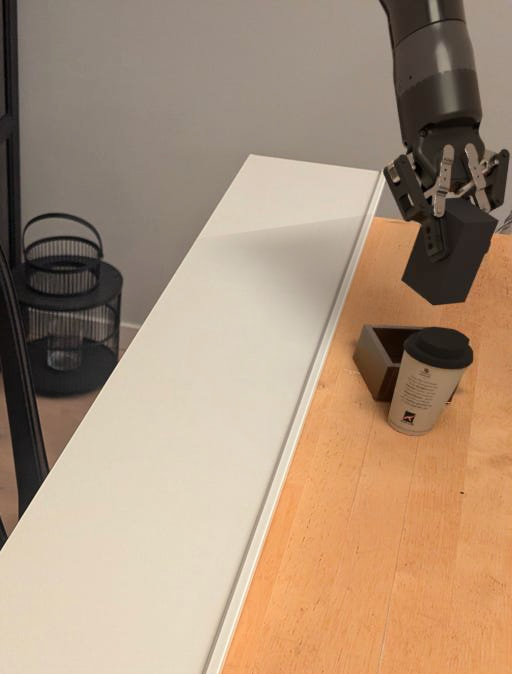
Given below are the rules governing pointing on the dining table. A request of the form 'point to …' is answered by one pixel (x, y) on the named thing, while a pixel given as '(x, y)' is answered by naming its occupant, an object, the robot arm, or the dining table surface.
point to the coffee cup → (428, 378)
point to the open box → (383, 357)
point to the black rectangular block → (451, 255)
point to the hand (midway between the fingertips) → (460, 257)
